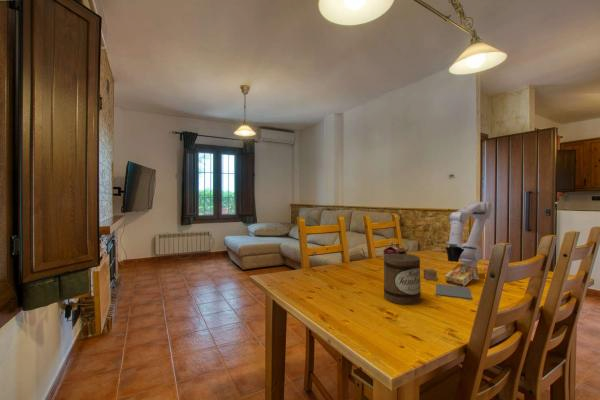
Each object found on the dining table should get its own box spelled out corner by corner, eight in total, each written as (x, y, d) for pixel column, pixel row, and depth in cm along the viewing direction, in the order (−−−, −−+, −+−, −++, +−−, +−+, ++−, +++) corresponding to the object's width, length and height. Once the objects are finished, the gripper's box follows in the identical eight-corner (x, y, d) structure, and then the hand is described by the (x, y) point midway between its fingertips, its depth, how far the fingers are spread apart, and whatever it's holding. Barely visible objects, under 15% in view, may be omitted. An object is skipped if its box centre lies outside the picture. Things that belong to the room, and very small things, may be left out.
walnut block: (423, 278, 151) (423, 268, 151) (433, 278, 151) (433, 268, 151) (426, 280, 147) (426, 271, 146) (436, 280, 146) (436, 271, 146)
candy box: (463, 287, 135) (478, 273, 143) (462, 279, 134) (477, 266, 142) (445, 282, 142) (460, 269, 150) (444, 274, 142) (459, 262, 150)
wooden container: (403, 307, 111) (402, 252, 111) (376, 296, 124) (376, 246, 124) (428, 300, 118) (427, 248, 118) (400, 290, 131) (400, 244, 131)
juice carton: (400, 286, 137) (399, 241, 137) (398, 290, 131) (398, 244, 131) (386, 285, 140) (385, 241, 140) (384, 289, 134) (383, 243, 134)
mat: (436, 284, 139) (436, 283, 139) (468, 288, 133) (468, 287, 133) (435, 295, 125) (435, 293, 125) (472, 299, 118) (472, 298, 118)
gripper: (443, 234, 151) (440, 259, 149) (452, 232, 137) (448, 260, 135) (457, 236, 149) (454, 262, 147) (468, 235, 135) (464, 263, 134)
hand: (452, 261), depth 141 cm, fingers open, 7 cm apart
